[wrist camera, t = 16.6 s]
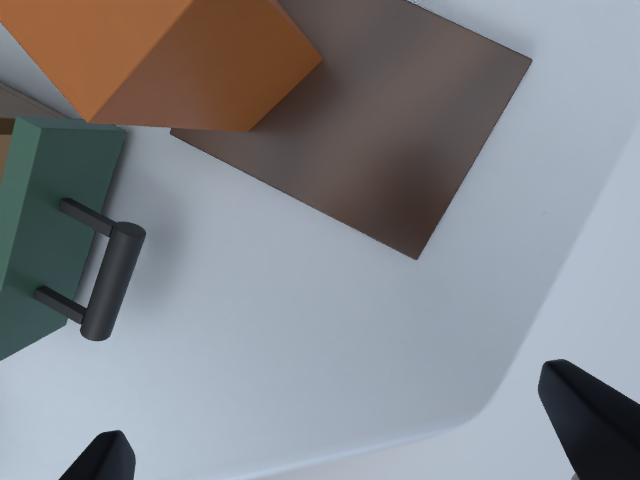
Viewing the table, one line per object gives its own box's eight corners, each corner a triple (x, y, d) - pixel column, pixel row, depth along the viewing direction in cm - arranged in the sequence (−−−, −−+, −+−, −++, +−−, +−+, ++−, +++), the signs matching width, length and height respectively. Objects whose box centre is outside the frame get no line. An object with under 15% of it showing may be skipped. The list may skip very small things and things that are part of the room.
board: (529, 61, 18) (533, 59, 18) (416, 257, 21) (416, 260, 20) (246, -72, 19) (241, -78, 18) (175, 134, 22) (168, 133, 21)
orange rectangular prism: (324, 58, 19) (229, -42, 9) (247, 132, 21) (86, 124, 10) (267, -12, 19) (98, -204, 8) (194, 68, 20) (-29, -10, 10)
